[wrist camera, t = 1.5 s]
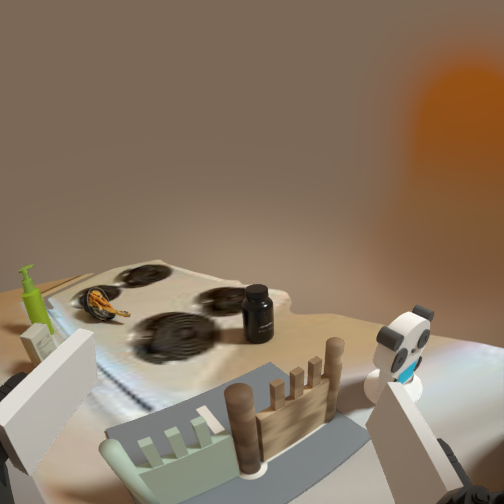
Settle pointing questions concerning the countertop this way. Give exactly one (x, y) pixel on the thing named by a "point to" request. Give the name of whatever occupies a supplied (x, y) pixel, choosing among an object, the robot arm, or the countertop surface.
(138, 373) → the countertop surface
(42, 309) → the soap dispenser
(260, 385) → the card
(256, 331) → the supplement bottle
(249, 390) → the fence fixed
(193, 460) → the fence panel
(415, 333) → the panda figurine
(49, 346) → the skincare box
